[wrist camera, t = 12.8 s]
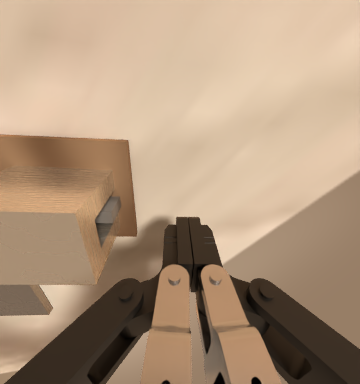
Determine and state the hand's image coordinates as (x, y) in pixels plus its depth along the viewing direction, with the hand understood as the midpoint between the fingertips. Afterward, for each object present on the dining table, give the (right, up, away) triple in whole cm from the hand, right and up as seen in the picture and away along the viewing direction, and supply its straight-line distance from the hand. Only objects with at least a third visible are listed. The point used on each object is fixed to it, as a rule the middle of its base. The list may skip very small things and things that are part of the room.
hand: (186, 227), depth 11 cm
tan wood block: (-9, +2, +3) cm, 10 cm away
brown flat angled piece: (-22, -10, +9) cm, 26 cm away
